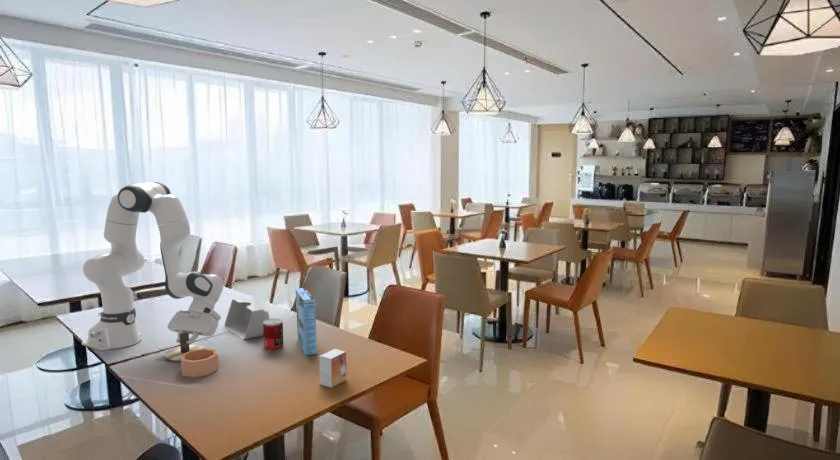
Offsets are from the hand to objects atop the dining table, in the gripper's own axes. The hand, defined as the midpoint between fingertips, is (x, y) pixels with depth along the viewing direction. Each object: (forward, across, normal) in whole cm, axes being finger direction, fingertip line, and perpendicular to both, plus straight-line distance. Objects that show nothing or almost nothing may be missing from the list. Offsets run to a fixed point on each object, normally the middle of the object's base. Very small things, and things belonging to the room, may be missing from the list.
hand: (183, 343), depth 190 cm
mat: (+3, 0, +4) cm, 5 cm away
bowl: (+10, +15, -3) cm, 19 cm away
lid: (+3, 0, +4) cm, 5 cm away
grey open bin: (-20, +6, +28) cm, 36 cm away
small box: (+7, +66, 0) cm, 67 cm away
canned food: (-9, +28, +17) cm, 34 cm away
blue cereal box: (-12, +41, +20) cm, 47 cm away
